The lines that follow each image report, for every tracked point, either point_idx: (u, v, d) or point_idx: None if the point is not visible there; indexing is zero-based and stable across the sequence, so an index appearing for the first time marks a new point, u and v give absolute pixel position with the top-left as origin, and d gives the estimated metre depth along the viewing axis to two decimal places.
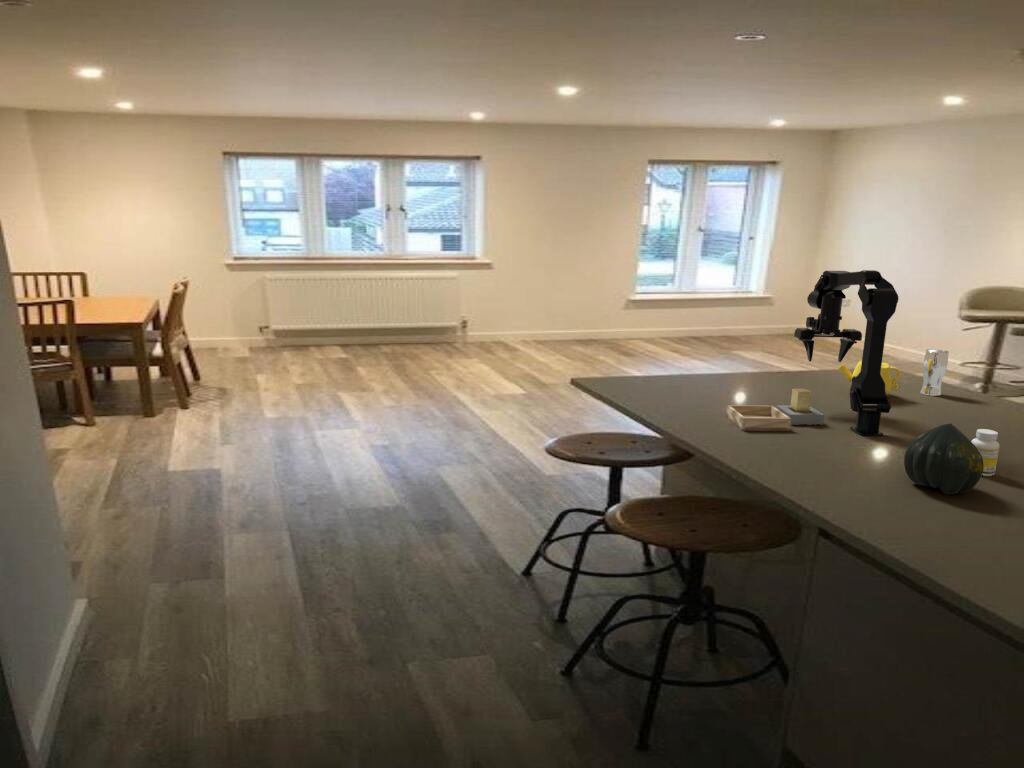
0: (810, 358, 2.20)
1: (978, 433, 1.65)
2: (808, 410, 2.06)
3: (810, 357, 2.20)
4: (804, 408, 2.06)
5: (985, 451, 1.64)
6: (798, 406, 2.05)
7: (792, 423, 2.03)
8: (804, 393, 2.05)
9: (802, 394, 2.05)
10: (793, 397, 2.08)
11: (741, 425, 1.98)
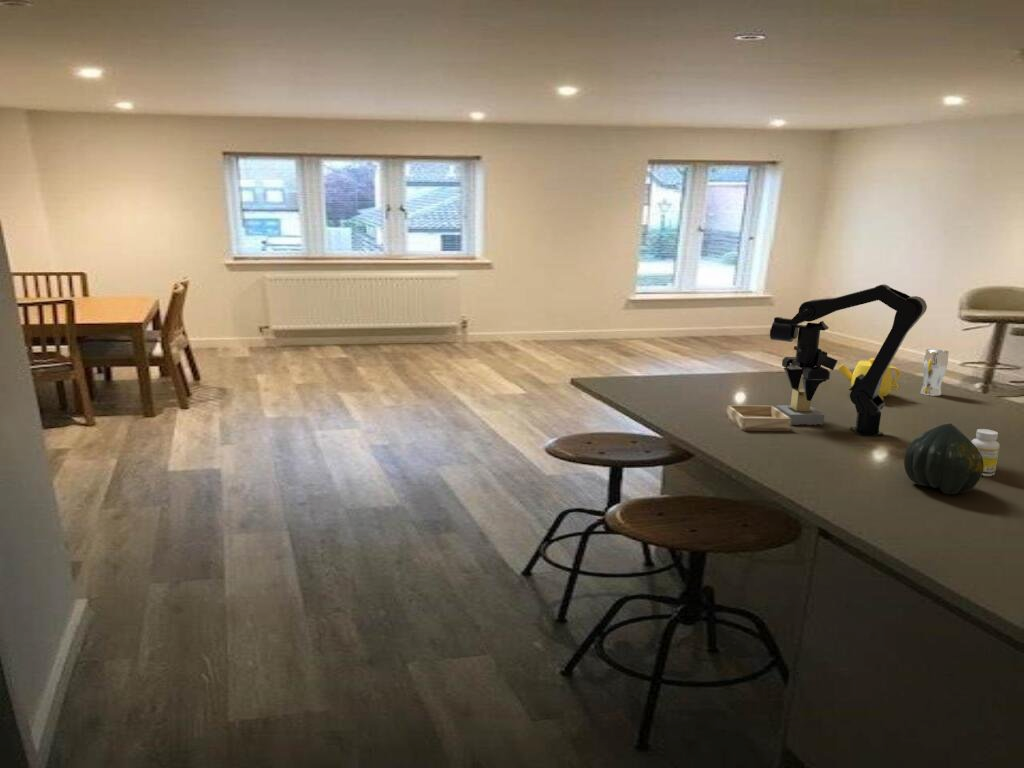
0: None
1: (978, 433, 1.65)
2: (808, 410, 2.06)
3: (791, 387, 2.11)
4: (804, 408, 2.06)
5: (985, 451, 1.64)
6: (798, 406, 2.05)
7: (792, 423, 2.03)
8: (804, 393, 2.05)
9: (802, 394, 2.05)
10: (793, 397, 2.08)
11: (741, 425, 1.98)
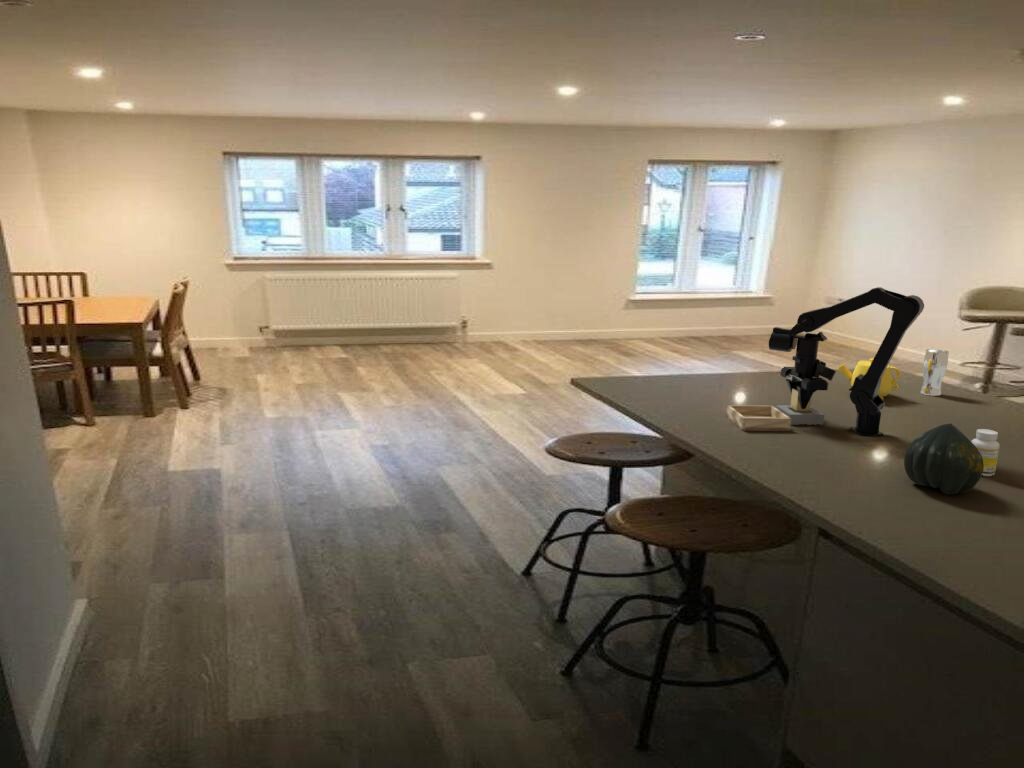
0: None
1: (978, 433, 1.65)
2: (808, 410, 2.06)
3: None
4: None
5: (985, 451, 1.64)
6: (798, 406, 2.05)
7: (792, 423, 2.03)
8: None
9: None
10: (793, 397, 2.08)
11: (741, 425, 1.98)
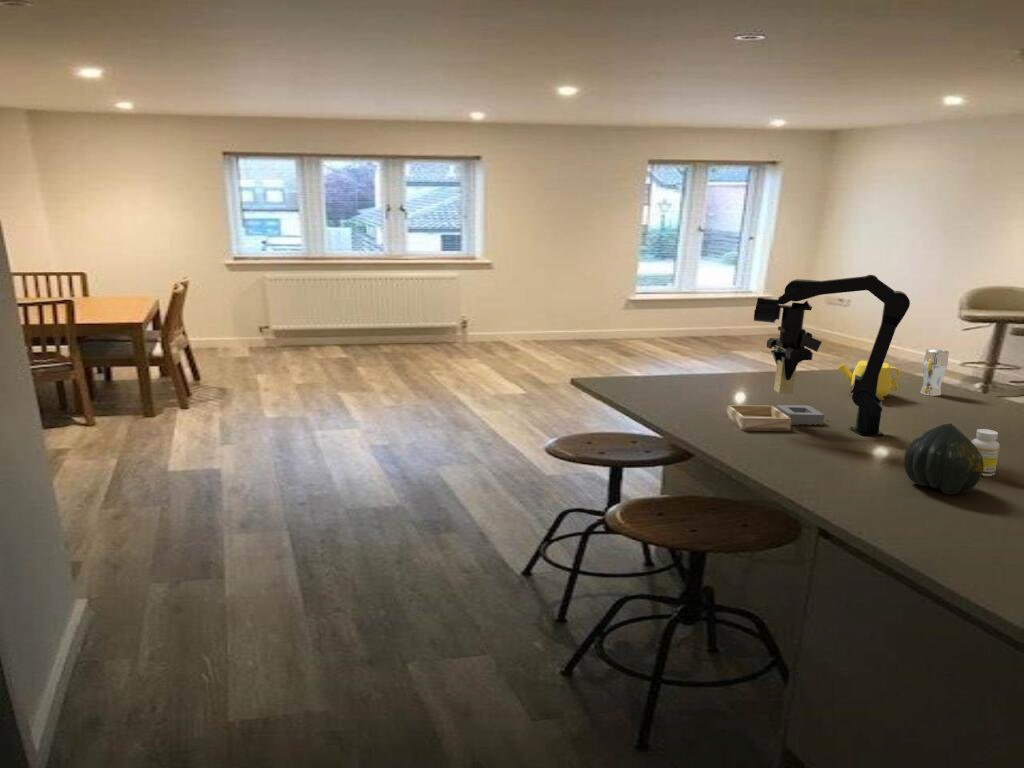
0: None
1: (978, 433, 1.65)
2: (793, 381, 2.02)
3: None
4: None
5: (985, 451, 1.64)
6: (782, 377, 2.02)
7: (792, 423, 2.03)
8: None
9: None
10: (778, 368, 2.04)
11: (741, 425, 1.98)
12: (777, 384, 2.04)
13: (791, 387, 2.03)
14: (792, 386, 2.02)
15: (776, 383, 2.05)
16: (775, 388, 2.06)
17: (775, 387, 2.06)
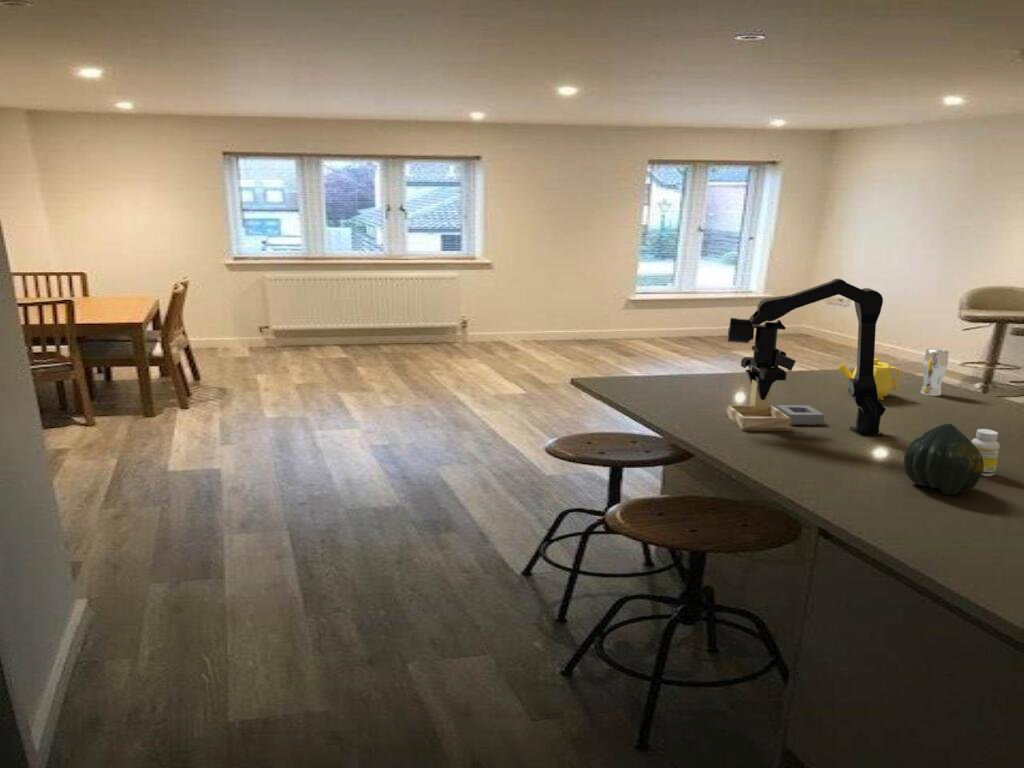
0: None
1: (978, 433, 1.65)
2: (768, 401, 2.01)
3: None
4: None
5: (985, 451, 1.64)
6: (757, 397, 2.00)
7: (792, 423, 2.03)
8: None
9: None
10: (752, 388, 2.02)
11: (741, 425, 1.98)
12: (752, 404, 2.03)
13: (766, 407, 2.01)
14: (767, 406, 2.01)
15: (751, 403, 2.03)
16: (750, 408, 2.04)
17: (750, 407, 2.04)
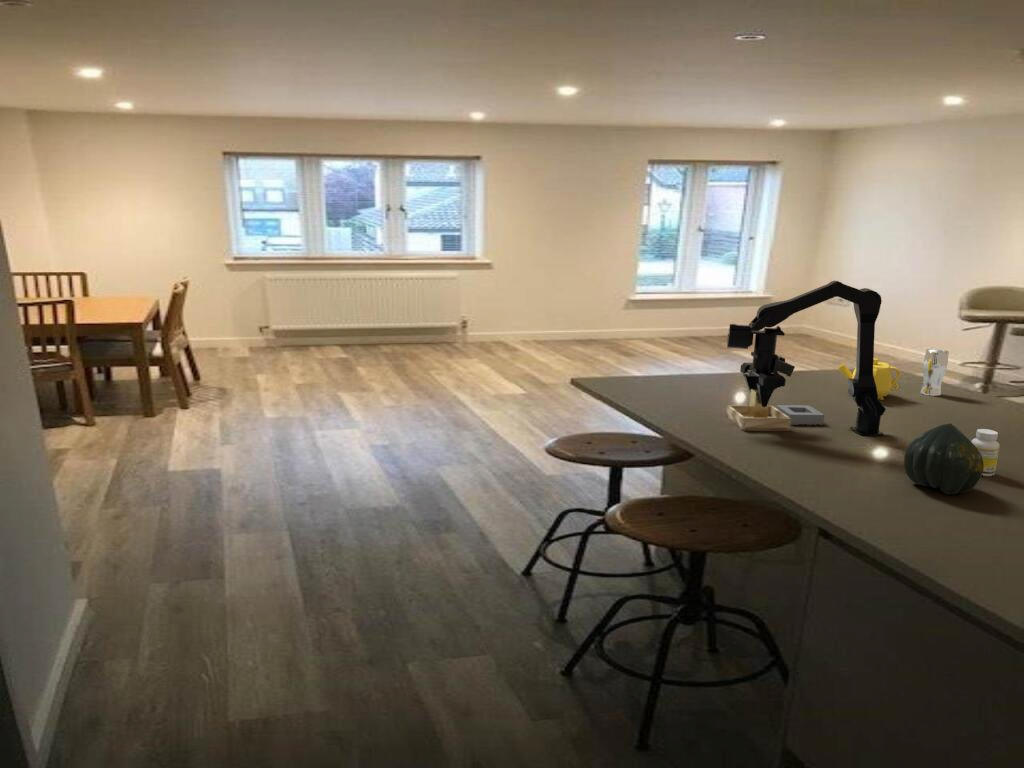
0: None
1: (978, 433, 1.65)
2: (766, 411, 2.01)
3: None
4: (762, 409, 2.01)
5: (985, 451, 1.64)
6: (756, 407, 2.01)
7: (792, 423, 2.03)
8: None
9: None
10: (751, 398, 2.03)
11: (741, 425, 1.98)
12: (751, 413, 2.03)
13: (765, 417, 2.02)
14: (766, 415, 2.02)
15: (750, 412, 2.04)
16: (749, 417, 2.05)
17: (749, 416, 2.05)
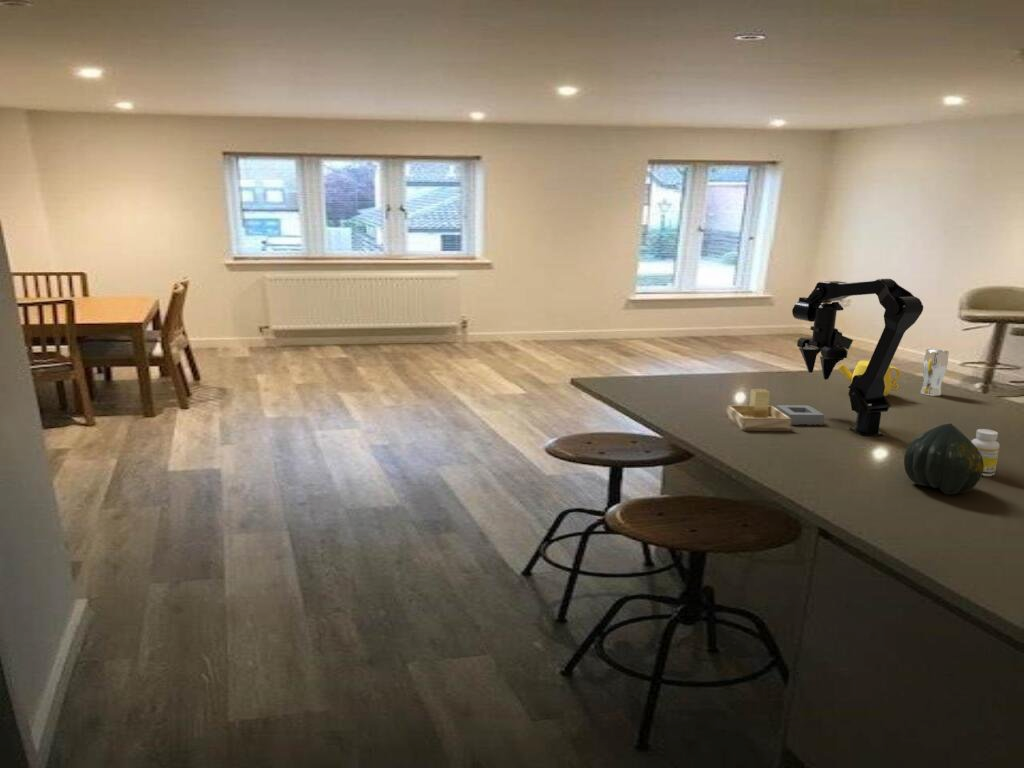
0: (807, 368, 2.16)
1: (978, 433, 1.65)
2: (766, 411, 2.01)
3: (807, 367, 2.16)
4: (762, 409, 2.01)
5: (985, 451, 1.64)
6: (756, 407, 2.01)
7: (792, 423, 2.03)
8: (762, 393, 2.00)
9: (760, 395, 2.00)
10: (751, 398, 2.03)
11: (741, 425, 1.98)
12: (751, 413, 2.03)
13: (765, 417, 2.02)
14: (766, 415, 2.02)
15: (750, 412, 2.04)
16: (749, 417, 2.05)
17: (749, 416, 2.05)
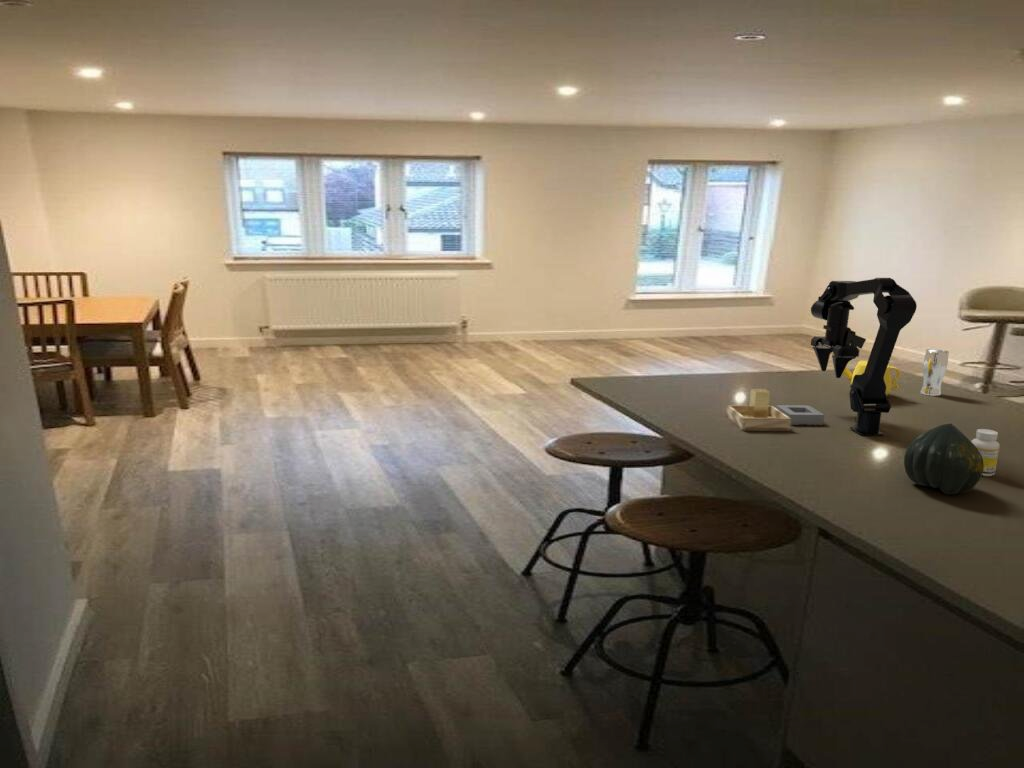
0: (821, 367, 2.18)
1: (978, 433, 1.65)
2: (766, 411, 2.01)
3: (820, 366, 2.18)
4: (762, 409, 2.01)
5: (985, 451, 1.64)
6: (756, 407, 2.01)
7: (792, 423, 2.03)
8: (762, 393, 2.00)
9: (760, 395, 2.00)
10: (751, 398, 2.03)
11: (741, 425, 1.98)
12: (751, 413, 2.03)
13: (765, 417, 2.02)
14: (766, 415, 2.02)
15: (750, 412, 2.04)
16: (749, 417, 2.05)
17: (749, 416, 2.05)
